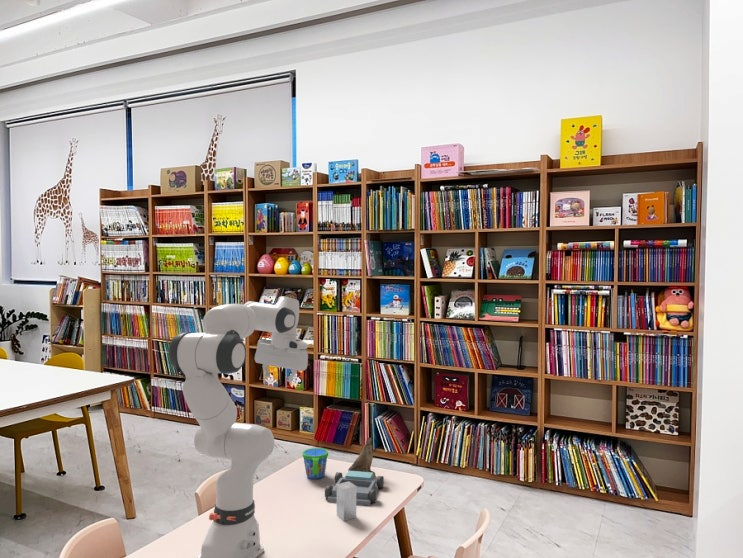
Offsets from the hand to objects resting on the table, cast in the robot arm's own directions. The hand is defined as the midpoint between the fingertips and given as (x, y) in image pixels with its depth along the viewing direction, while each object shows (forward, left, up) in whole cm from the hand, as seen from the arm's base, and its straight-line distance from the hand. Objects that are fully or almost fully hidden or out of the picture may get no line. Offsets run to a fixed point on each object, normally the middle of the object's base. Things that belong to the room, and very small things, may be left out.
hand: (278, 379), depth 199 cm
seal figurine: (+35, -22, -46) cm, 62 cm away
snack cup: (+29, -4, -46) cm, 55 cm away
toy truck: (+17, -24, -46) cm, 55 cm away
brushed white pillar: (-3, -26, -46) cm, 53 cm away
